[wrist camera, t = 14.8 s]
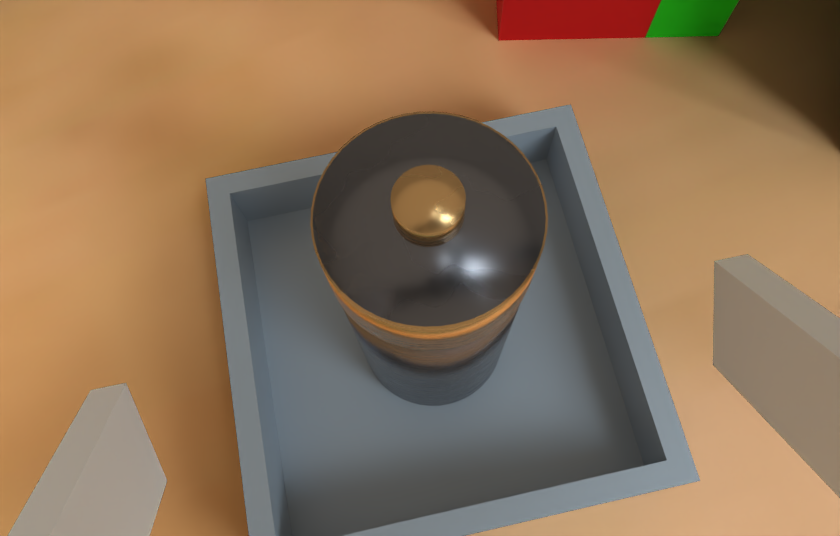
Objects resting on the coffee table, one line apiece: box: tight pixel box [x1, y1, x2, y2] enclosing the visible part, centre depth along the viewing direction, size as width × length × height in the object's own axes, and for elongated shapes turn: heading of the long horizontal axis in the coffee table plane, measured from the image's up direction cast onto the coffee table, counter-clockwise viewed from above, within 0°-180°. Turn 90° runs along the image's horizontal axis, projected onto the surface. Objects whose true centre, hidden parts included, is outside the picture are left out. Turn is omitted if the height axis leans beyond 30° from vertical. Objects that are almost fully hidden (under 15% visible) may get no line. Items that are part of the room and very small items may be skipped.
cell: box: [310, 112, 548, 406], centre depth 20 cm, size 5×5×12 cm
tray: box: [206, 105, 700, 536], centre depth 25 cm, size 14×14×4 cm
